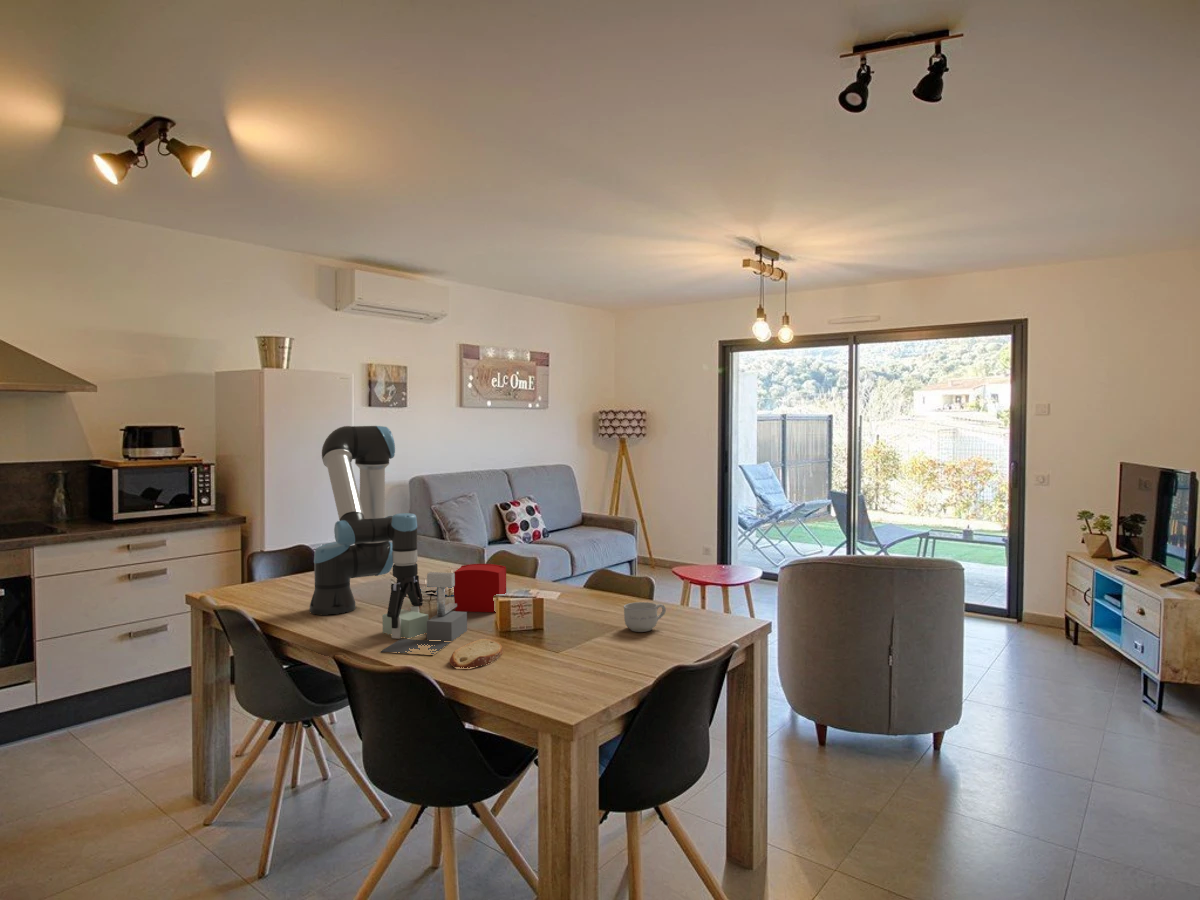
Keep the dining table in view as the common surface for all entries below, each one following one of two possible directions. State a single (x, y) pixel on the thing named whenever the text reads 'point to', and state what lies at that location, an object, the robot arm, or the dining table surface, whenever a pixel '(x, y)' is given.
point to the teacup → (642, 615)
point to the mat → (413, 645)
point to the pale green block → (408, 623)
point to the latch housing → (447, 626)
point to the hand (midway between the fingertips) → (406, 632)
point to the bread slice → (476, 653)
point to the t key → (441, 589)
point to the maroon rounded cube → (478, 586)
